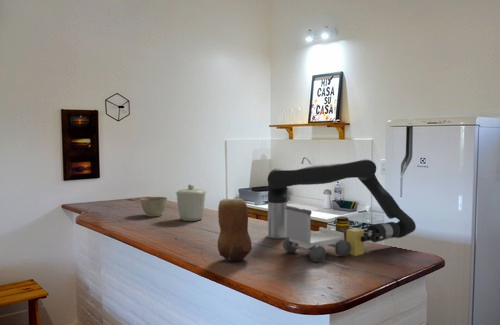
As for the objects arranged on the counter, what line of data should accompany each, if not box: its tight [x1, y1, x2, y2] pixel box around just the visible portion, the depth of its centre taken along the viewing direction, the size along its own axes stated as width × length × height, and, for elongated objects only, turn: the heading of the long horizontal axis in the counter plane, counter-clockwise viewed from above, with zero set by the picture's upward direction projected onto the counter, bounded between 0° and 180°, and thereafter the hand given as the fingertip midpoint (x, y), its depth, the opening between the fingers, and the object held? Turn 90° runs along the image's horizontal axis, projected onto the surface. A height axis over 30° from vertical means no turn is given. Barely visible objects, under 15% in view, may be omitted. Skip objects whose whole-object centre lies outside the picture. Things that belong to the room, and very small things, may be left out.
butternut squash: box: [217, 198, 253, 263], centre depth 172 cm, size 14×13×25 cm
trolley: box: [282, 205, 351, 264], centre depth 180 cm, size 21×19×20 cm
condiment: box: [334, 216, 350, 245], centre depth 199 cm, size 7×8×12 cm
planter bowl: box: [140, 196, 168, 218], centre depth 271 cm, size 16×16×11 cm
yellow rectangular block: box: [346, 227, 365, 257], centre depth 182 cm, size 5×5×10 cm
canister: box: [175, 183, 207, 222], centre depth 257 cm, size 18×18×21 cm
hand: (353, 237), depth 181 cm, fingers open, 8 cm apart
